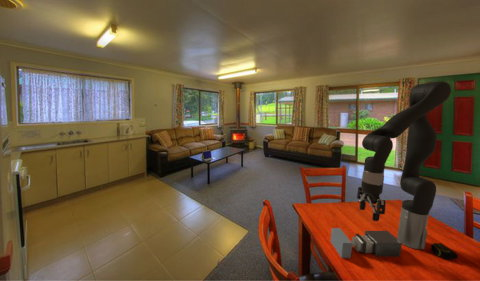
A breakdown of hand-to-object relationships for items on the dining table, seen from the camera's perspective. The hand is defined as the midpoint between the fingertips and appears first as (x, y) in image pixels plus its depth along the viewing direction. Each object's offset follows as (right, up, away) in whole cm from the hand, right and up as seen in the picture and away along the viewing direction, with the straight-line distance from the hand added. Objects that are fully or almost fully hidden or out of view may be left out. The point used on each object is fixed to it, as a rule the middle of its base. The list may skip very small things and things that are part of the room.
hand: (368, 214), depth 80 cm
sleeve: (+8, -17, +3) cm, 19 cm away
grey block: (-11, -17, +3) cm, 21 cm away
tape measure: (+33, -18, 0) cm, 37 cm away
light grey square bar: (+4, -17, +3) cm, 18 cm away
